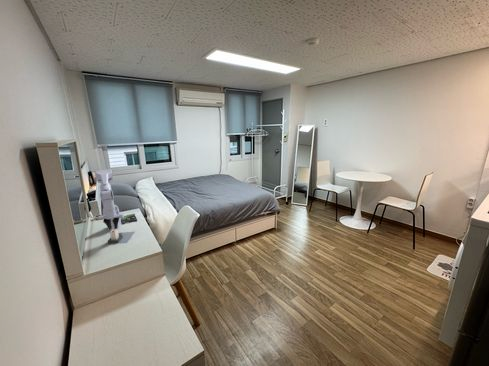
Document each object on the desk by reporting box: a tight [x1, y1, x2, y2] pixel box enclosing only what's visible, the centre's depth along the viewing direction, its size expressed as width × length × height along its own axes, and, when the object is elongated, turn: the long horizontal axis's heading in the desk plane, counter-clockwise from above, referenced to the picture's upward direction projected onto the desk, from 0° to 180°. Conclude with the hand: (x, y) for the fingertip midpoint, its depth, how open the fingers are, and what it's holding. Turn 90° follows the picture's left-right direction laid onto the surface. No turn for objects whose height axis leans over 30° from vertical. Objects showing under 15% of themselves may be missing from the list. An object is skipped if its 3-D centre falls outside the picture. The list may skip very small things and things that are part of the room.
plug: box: [109, 229, 119, 240], centre depth 136 cm, size 4×3×7 cm
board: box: [106, 231, 136, 245], centre depth 140 cm, size 15×12×2 cm
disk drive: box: [120, 213, 138, 225], centre depth 168 cm, size 10×3×15 cm
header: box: [107, 235, 123, 245], centre depth 137 cm, size 7×6×2 cm
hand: (113, 228), depth 135 cm, fingers open, 3 cm apart
